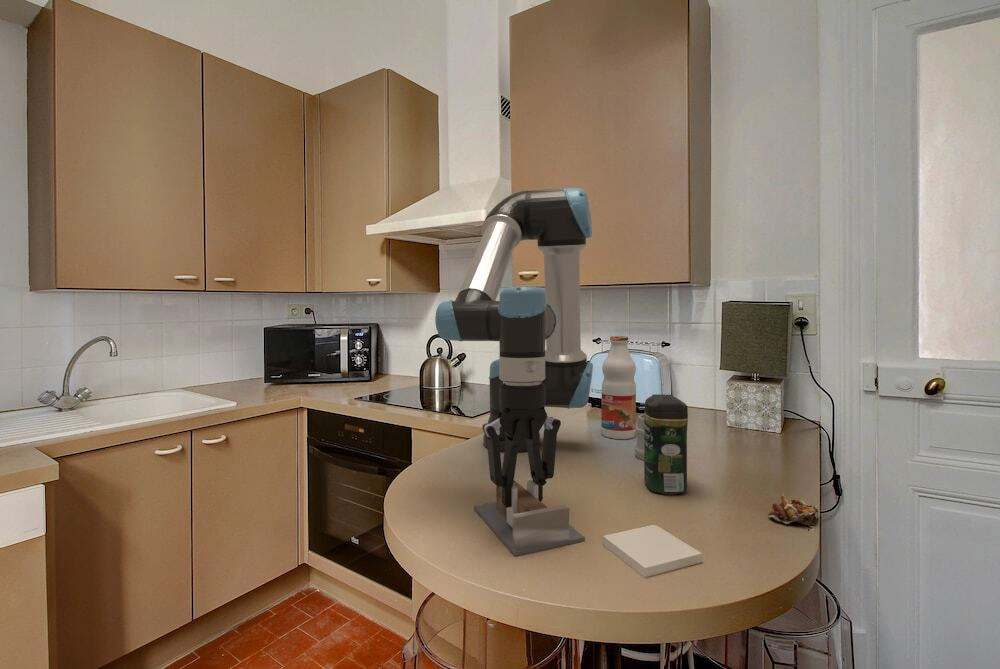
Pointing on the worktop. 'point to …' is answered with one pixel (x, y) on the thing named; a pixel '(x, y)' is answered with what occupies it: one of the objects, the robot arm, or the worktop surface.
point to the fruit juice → (618, 392)
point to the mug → (640, 437)
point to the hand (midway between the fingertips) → (522, 522)
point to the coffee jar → (665, 444)
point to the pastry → (794, 512)
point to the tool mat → (506, 531)
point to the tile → (651, 550)
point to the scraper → (535, 520)
